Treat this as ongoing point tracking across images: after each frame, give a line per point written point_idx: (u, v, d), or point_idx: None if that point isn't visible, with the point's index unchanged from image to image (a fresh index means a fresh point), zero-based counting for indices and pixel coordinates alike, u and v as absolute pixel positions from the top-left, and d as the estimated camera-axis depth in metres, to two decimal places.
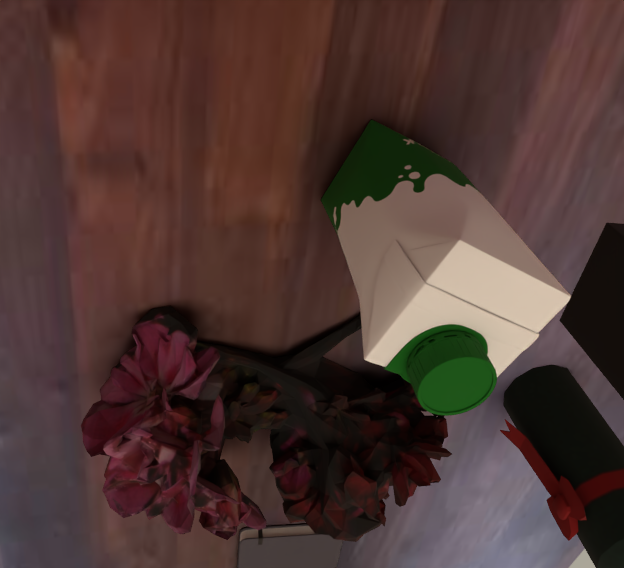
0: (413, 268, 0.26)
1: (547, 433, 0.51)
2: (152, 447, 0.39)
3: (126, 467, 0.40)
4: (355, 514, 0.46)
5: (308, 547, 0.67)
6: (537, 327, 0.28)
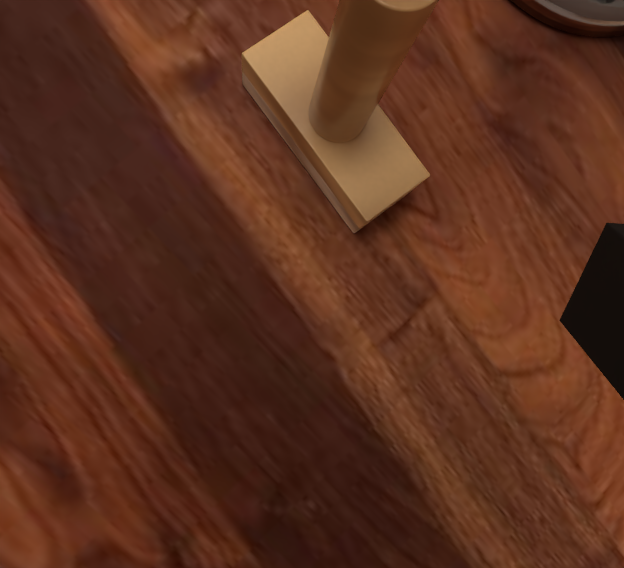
0: None
1: None
2: None
3: None
4: None
5: None
6: None
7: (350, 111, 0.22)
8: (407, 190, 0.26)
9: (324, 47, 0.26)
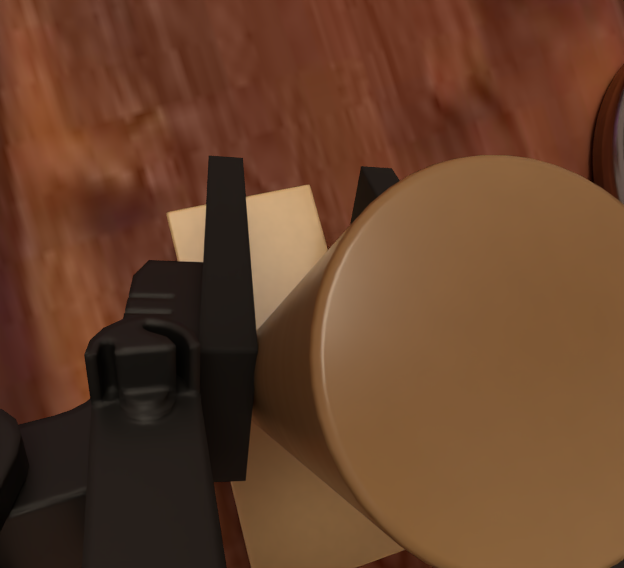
0: None
1: None
2: None
3: None
4: None
5: None
6: None
7: None
8: (358, 564, 0.14)
9: (311, 254, 0.15)
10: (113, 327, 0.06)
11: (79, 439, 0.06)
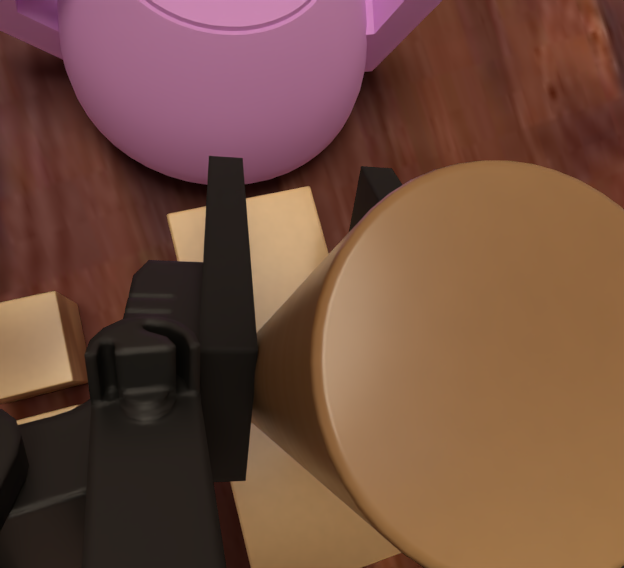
0: None
1: None
2: None
3: None
4: None
5: None
6: None
7: None
8: (358, 566, 0.14)
9: (311, 256, 0.15)
10: (113, 327, 0.06)
11: (79, 439, 0.06)
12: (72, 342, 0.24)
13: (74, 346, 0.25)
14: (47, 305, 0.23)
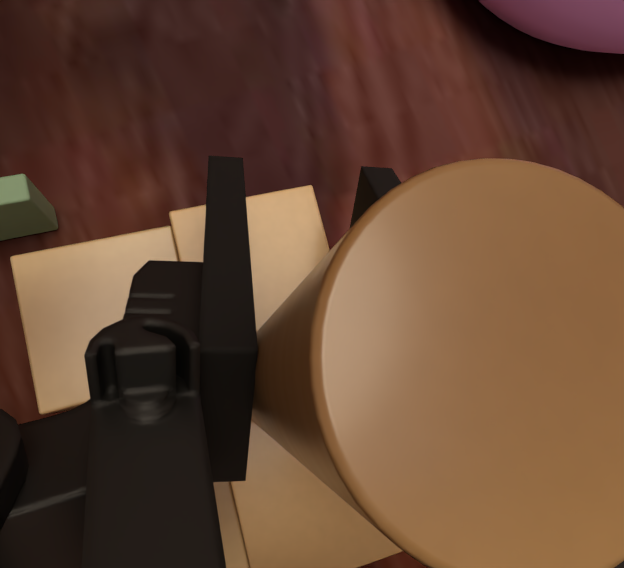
0: None
1: None
2: None
3: None
4: None
5: None
6: None
7: None
8: (357, 565, 0.14)
9: (313, 254, 0.15)
10: (113, 326, 0.06)
11: (79, 439, 0.06)
12: None
13: None
14: (159, 248, 0.14)
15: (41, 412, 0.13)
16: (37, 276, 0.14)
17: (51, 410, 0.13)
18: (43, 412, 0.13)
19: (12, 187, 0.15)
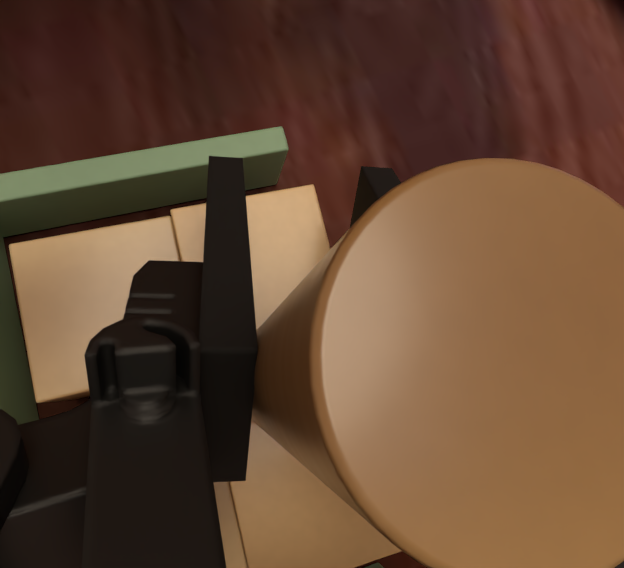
0: None
1: None
2: None
3: None
4: None
5: None
6: None
7: None
8: (354, 565, 0.14)
9: (314, 254, 0.15)
10: (113, 327, 0.06)
11: (79, 439, 0.06)
12: None
13: None
14: (158, 238, 0.14)
15: (38, 401, 0.13)
16: (36, 264, 0.13)
17: (48, 399, 0.13)
18: (40, 401, 0.13)
19: (273, 138, 0.16)
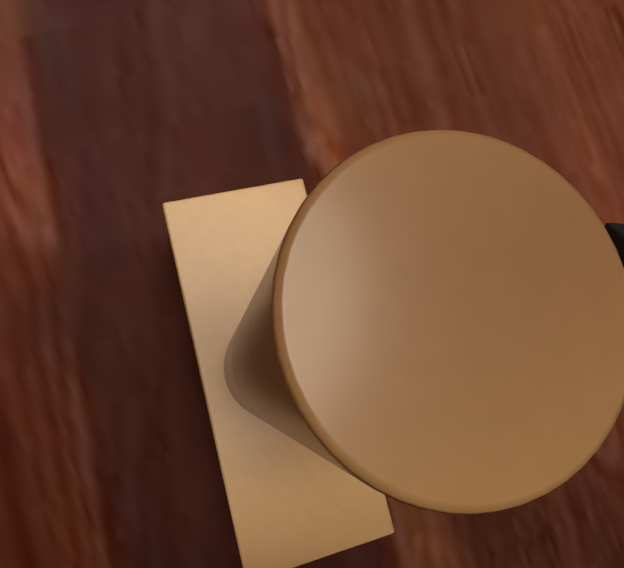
0: None
1: None
2: None
3: None
4: None
5: None
6: None
7: None
8: (343, 548, 0.14)
9: None
10: None
11: None
12: None
13: None
14: None
15: None
16: None
17: None
18: None
19: None
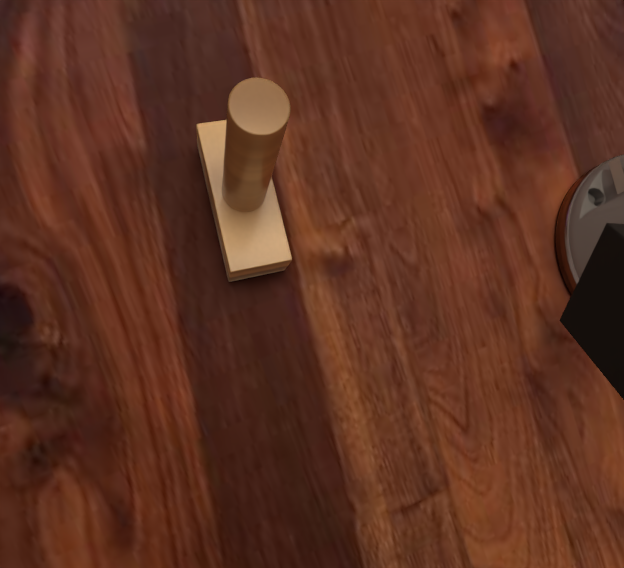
0: None
1: None
2: None
3: None
4: None
5: None
6: None
7: (236, 188, 0.31)
8: (270, 263, 0.34)
9: None
10: None
11: None
12: None
13: None
14: None
15: None
16: None
17: None
18: None
19: None
